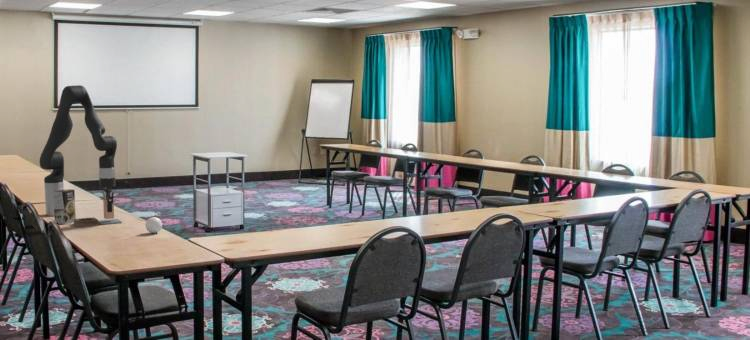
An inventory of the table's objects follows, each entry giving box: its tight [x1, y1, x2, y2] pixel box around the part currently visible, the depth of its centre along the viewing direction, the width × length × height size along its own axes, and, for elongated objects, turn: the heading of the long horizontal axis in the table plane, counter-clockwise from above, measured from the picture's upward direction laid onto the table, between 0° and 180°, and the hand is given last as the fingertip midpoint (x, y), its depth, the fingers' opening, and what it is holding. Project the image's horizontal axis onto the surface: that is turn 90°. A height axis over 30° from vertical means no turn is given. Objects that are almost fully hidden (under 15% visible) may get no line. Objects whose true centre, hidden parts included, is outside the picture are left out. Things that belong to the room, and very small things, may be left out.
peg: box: [102, 200, 115, 220], centre depth 394 cm, size 4×4×9 cm
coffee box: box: [53, 189, 77, 225], centre depth 394 cm, size 9×6×16 cm
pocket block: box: [73, 216, 99, 228], centre depth 389 cm, size 10×10×2 cm
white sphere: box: [145, 217, 163, 234], centre depth 365 cm, size 10×7×7 cm
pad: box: [98, 218, 123, 226], centre depth 394 cm, size 10×10×1 cm
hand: (108, 211), depth 394 cm, fingers closed on peg, 4 cm apart
